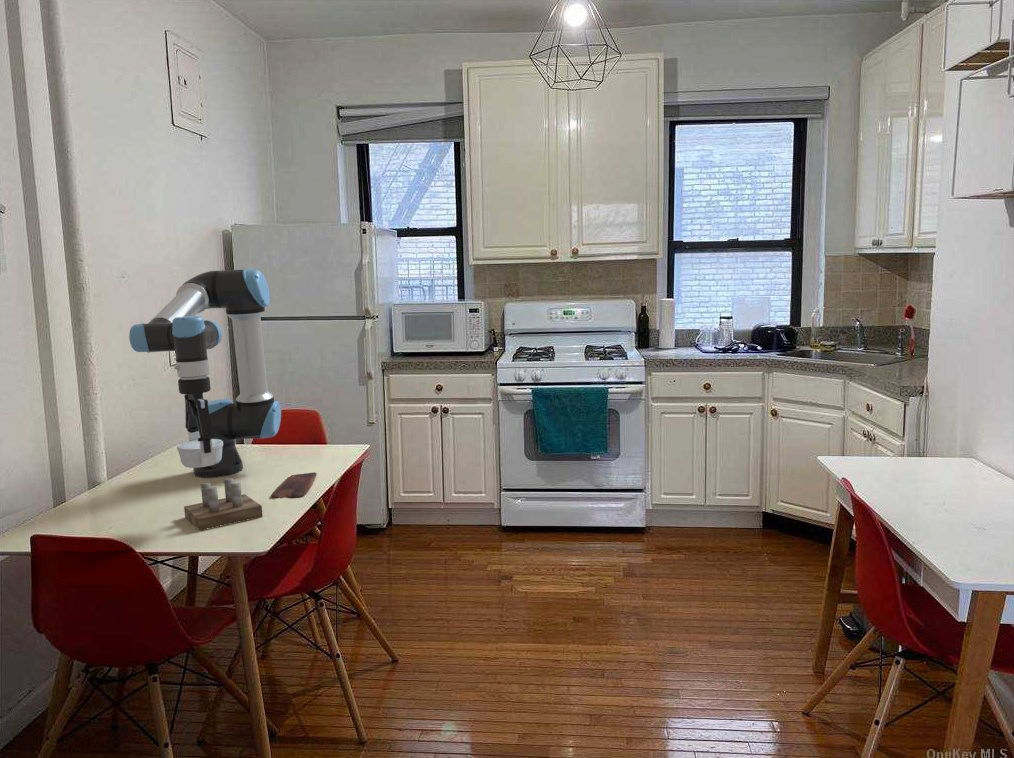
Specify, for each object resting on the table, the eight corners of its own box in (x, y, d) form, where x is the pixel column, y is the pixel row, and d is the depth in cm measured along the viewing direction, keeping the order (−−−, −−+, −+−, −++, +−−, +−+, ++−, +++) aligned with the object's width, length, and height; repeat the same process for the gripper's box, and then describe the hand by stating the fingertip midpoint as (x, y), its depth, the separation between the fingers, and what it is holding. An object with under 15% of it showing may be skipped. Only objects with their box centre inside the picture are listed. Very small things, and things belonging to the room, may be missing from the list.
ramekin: (209, 469, 193) (207, 449, 192) (169, 468, 195) (167, 448, 195) (233, 458, 204) (231, 438, 203) (195, 457, 206) (193, 438, 206)
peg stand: (185, 517, 204) (181, 484, 203) (245, 504, 214) (242, 473, 212) (199, 530, 193) (196, 496, 192) (262, 516, 203) (259, 483, 201)
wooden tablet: (289, 471, 244) (320, 466, 244) (290, 478, 244) (321, 472, 245) (268, 496, 218) (303, 490, 218) (269, 504, 218) (304, 498, 219)
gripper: (167, 374, 204) (176, 454, 207) (189, 383, 185) (198, 472, 188) (197, 371, 208) (205, 449, 211) (221, 380, 189) (229, 466, 192)
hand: (202, 460), depth 200 cm, fingers closed on ramekin, 11 cm apart
